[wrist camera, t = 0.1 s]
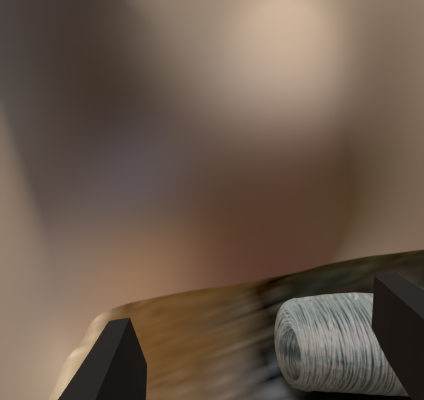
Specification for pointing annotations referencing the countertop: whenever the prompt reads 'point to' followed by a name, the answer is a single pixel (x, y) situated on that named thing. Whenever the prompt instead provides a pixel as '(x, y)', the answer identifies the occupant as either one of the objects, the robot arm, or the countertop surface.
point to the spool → (333, 346)
